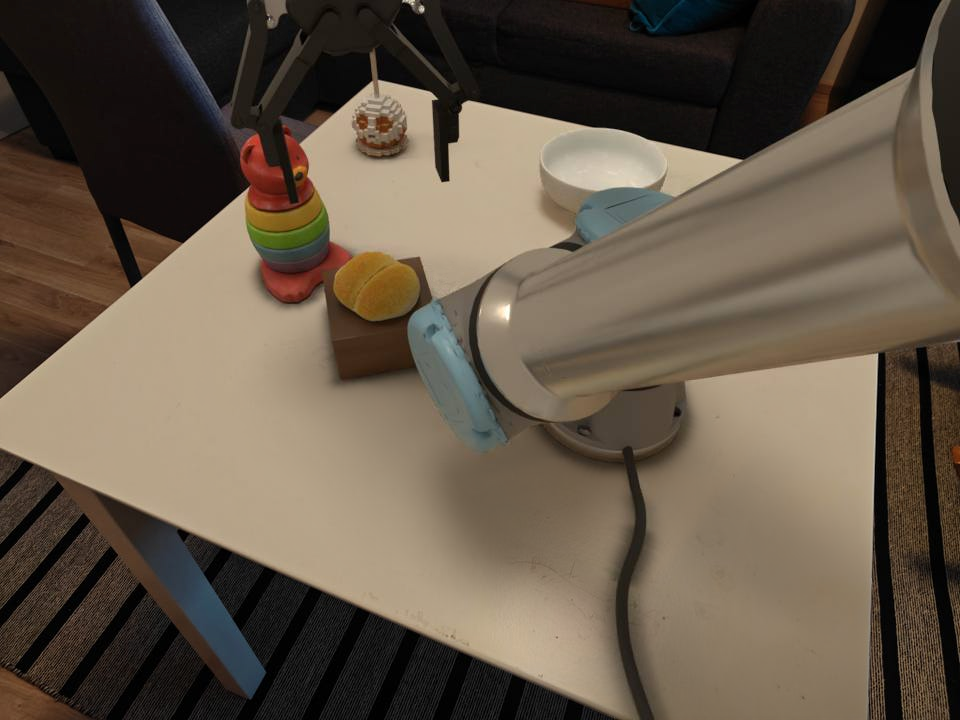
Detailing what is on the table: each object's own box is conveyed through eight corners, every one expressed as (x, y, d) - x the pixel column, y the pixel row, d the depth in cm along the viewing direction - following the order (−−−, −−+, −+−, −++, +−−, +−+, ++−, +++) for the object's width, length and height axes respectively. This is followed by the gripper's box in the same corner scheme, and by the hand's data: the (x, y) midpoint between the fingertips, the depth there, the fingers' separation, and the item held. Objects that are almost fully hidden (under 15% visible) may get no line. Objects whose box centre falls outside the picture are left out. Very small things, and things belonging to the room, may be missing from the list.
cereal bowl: (647, 171, 97) (658, 127, 91) (665, 239, 86) (678, 193, 80) (534, 168, 97) (538, 124, 92) (537, 236, 86) (542, 190, 80)
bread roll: (384, 336, 65) (379, 307, 62) (323, 297, 68) (316, 268, 65) (438, 293, 69) (437, 264, 66) (378, 259, 73) (374, 230, 70)
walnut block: (441, 361, 71) (440, 322, 66) (340, 379, 69) (331, 340, 64) (422, 295, 78) (419, 256, 73) (330, 310, 76) (321, 271, 71)
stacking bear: (290, 309, 76) (252, 175, 63) (240, 270, 80) (195, 138, 67) (360, 266, 81) (339, 134, 68) (311, 232, 86) (281, 102, 73)
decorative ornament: (350, 155, 99) (334, 55, 88) (367, 130, 104) (354, 33, 93) (398, 162, 98) (389, 61, 87) (413, 136, 103) (406, 38, 92)
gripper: (494, -118, 48) (490, 146, 64) (138, -97, 43) (227, 181, 59) (526, -92, 43) (512, 187, 59) (127, -65, 38) (228, 229, 54)
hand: (369, 184), depth 59 cm, fingers open, 13 cm apart
